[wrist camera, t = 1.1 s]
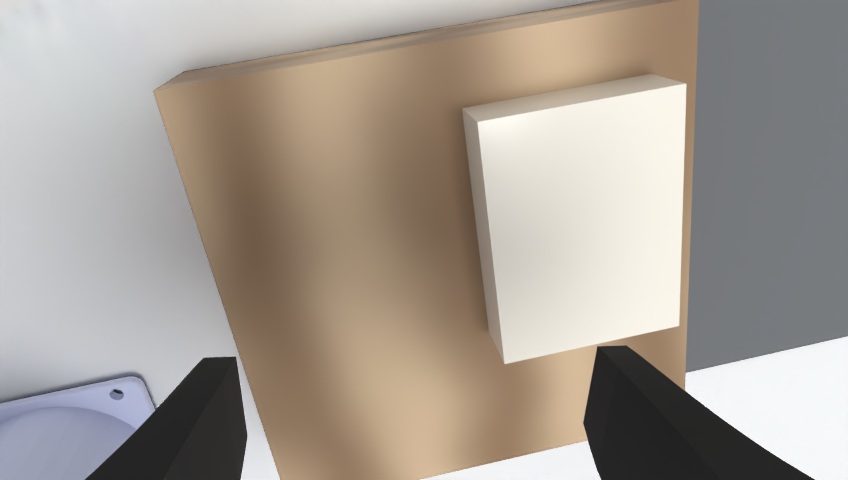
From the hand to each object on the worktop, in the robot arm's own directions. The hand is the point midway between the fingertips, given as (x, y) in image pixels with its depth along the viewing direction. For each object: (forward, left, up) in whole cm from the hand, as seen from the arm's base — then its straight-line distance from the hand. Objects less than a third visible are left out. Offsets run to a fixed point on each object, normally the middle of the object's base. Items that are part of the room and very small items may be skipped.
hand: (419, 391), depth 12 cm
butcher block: (+3, -2, -12) cm, 12 cm away
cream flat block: (+6, 0, -8) cm, 10 cm away
